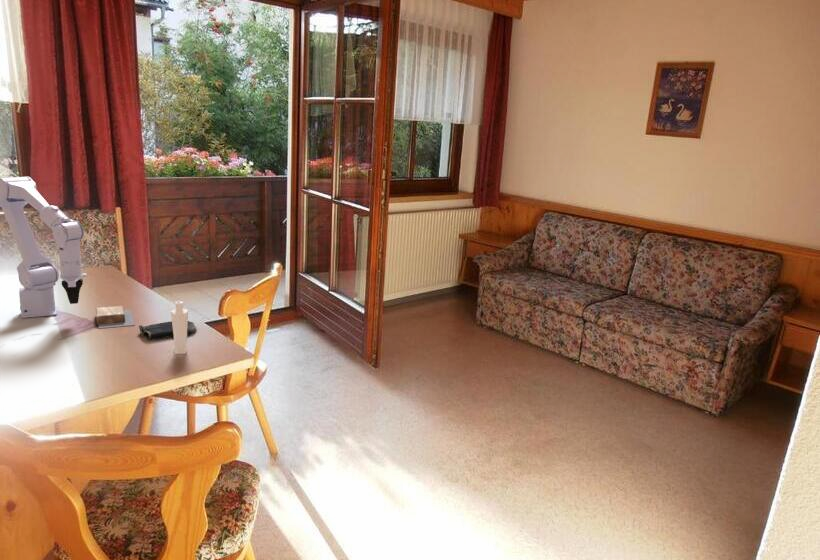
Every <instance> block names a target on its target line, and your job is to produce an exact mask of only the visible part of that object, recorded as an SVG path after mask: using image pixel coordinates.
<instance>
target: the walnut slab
mask: <svg viewBox="0 0 820 560" xmlns="http://www.w3.org/2000/svg"><path fill="white" fill-rule="evenodd" d="M124 310H125V309H124V306H123V305H117V306H116V305H115V306H102V307H96V308H95V316H96V325H99V324H108V323H120V322H125V313H124Z"/></svg>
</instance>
